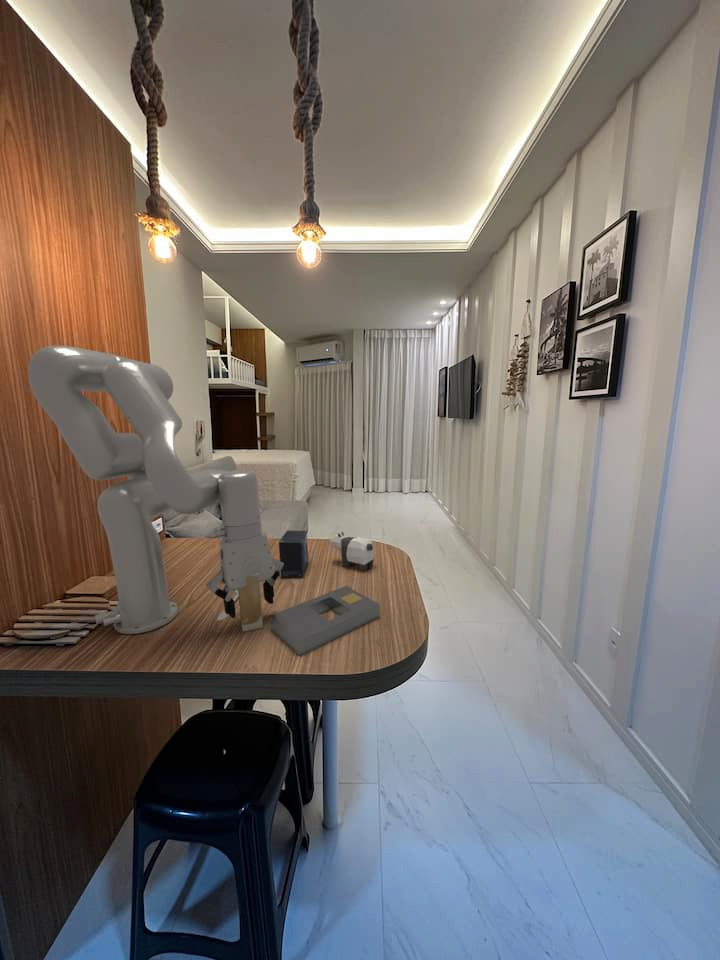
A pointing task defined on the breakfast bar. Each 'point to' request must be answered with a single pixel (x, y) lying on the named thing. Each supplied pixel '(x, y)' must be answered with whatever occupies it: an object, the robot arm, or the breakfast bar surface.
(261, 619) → the skincare box
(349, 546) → the giant panda
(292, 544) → the small box
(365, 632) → the breakfast bar surface
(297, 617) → the grey slotted base block
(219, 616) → the spoon
